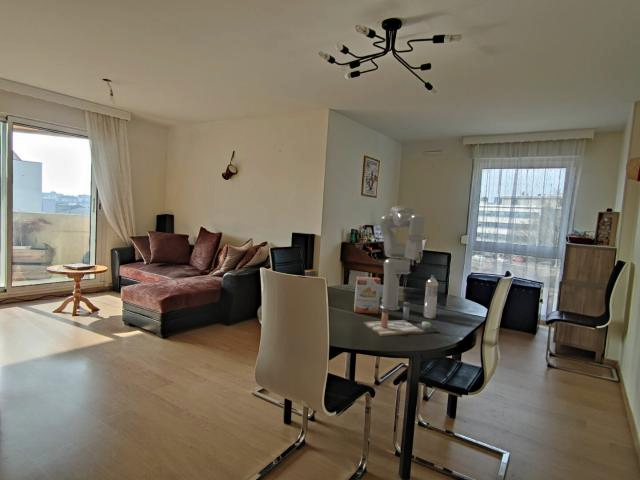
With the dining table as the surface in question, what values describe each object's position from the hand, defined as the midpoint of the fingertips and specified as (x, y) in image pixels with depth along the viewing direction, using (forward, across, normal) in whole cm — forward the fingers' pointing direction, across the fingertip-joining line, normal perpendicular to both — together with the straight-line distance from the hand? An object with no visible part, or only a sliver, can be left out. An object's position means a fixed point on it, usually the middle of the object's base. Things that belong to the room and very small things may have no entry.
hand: (412, 271), depth 201 cm
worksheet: (+28, +8, -13) cm, 32 cm away
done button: (+28, +13, +3) cm, 31 cm away
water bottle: (+30, -8, +20) cm, 37 cm away
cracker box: (+30, -24, -13) cm, 40 cm away
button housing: (+28, +13, +3) cm, 31 cm away
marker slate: (+29, -5, +2) cm, 30 cm away
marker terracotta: (+27, +8, -19) cm, 34 cm away
